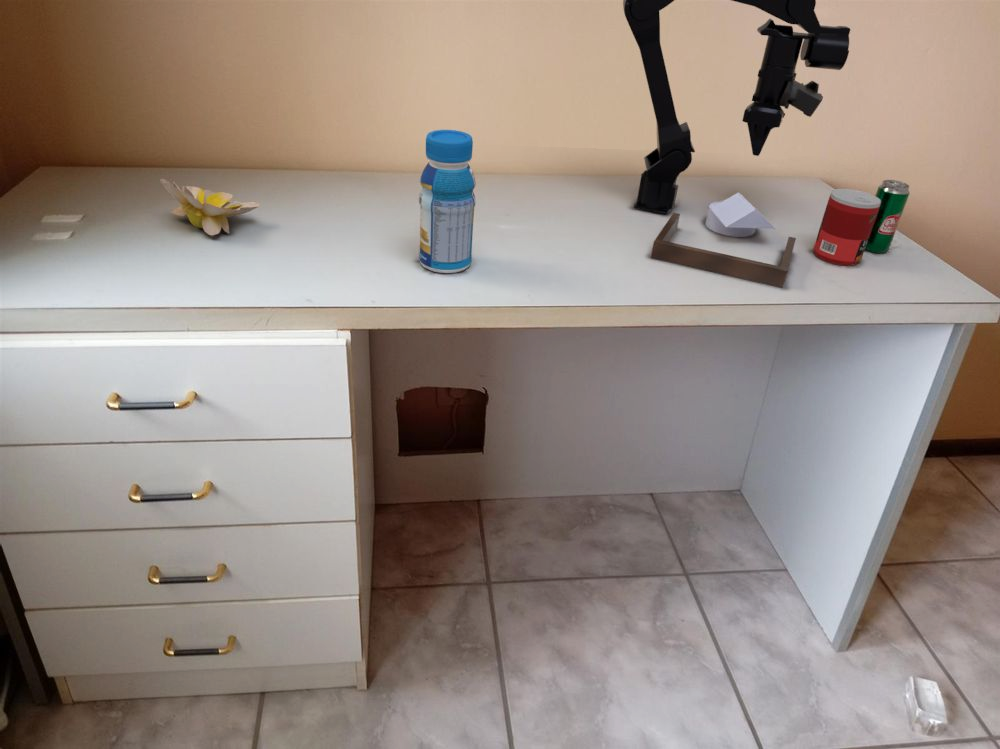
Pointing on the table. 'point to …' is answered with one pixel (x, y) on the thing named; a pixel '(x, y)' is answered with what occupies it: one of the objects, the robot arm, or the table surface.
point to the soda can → (887, 214)
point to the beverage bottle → (447, 202)
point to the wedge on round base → (735, 217)
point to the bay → (719, 258)
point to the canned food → (846, 226)
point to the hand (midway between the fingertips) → (756, 154)
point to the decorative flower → (206, 207)
